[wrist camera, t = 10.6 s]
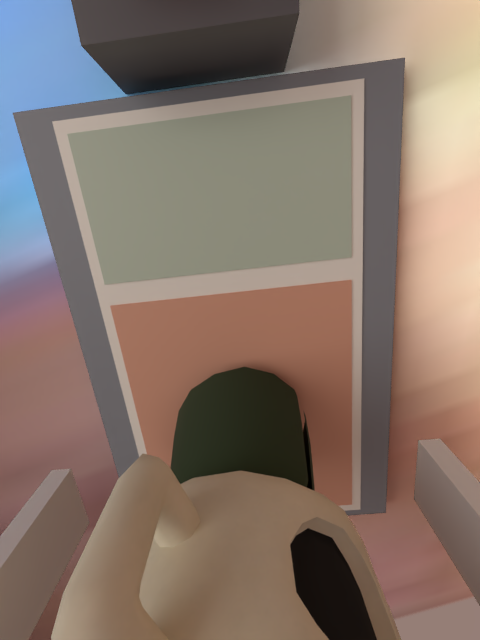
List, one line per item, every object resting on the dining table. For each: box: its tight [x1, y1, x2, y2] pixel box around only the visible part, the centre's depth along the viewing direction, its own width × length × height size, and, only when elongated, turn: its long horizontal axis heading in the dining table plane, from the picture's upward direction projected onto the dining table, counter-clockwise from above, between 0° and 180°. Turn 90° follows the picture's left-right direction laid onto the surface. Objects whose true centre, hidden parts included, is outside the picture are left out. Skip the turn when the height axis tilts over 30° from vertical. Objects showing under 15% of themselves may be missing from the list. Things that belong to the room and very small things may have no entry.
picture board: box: [13, 58, 405, 515], centre depth 15 cm, size 15×22×1 cm
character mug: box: [51, 367, 401, 640], centre depth 9 cm, size 11×7×13 cm, turn 23°
